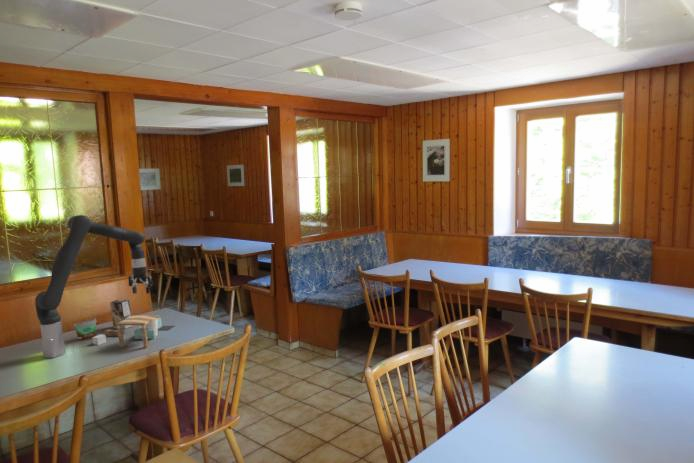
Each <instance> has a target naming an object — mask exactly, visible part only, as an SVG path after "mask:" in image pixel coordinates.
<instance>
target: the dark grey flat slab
mask: <svg viewBox="0 0 694 463" xmlns="http://www.w3.org/2000/svg"><path fill="white" fill-rule="evenodd" d="M174 327H175V325H163V326H161V327H159V328H157V331H169V330H171V329H172V328H174Z"/></svg>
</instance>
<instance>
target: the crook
mask: <svg viewBox="0 0 694 463" xmlns="http://www.w3.org/2000/svg"><path fill="white" fill-rule="evenodd" d="M162 325H163V324H162V317H159V318H158V326H157V329H159V328H161V327H163V326H162ZM133 333H134V334H133V335H134V339H135V340H143V336H142V328H141V326H139V327H137V328H136V329H134V330H133ZM156 337H157V336H155V330H147V339H148V340H150V339H151V340H156Z"/></svg>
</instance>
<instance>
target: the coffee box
mask: <svg viewBox="0 0 694 463" xmlns="http://www.w3.org/2000/svg"><path fill="white" fill-rule="evenodd" d="M109 303H110V304H109V306H110V312H111V317H112V318H111V320H112V327H113V329H117V323H119V322H121V321H123V320H125V319H127V318H129V317H131V316H132V313H131V304H130V300H129V299H115V300H113V301H110V302H109ZM130 327H133V325H122V330H124V329H125V330H127V329H128V328H130Z"/></svg>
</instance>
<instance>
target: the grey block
mask: <svg viewBox="0 0 694 463" xmlns="http://www.w3.org/2000/svg"><path fill="white" fill-rule="evenodd" d="M106 337H107V335H105V334H98V335H97V334H96V336H95V337H92V338H91V339H92V345H95V346H100V345H102V344H104V343H107V338H106Z"/></svg>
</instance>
